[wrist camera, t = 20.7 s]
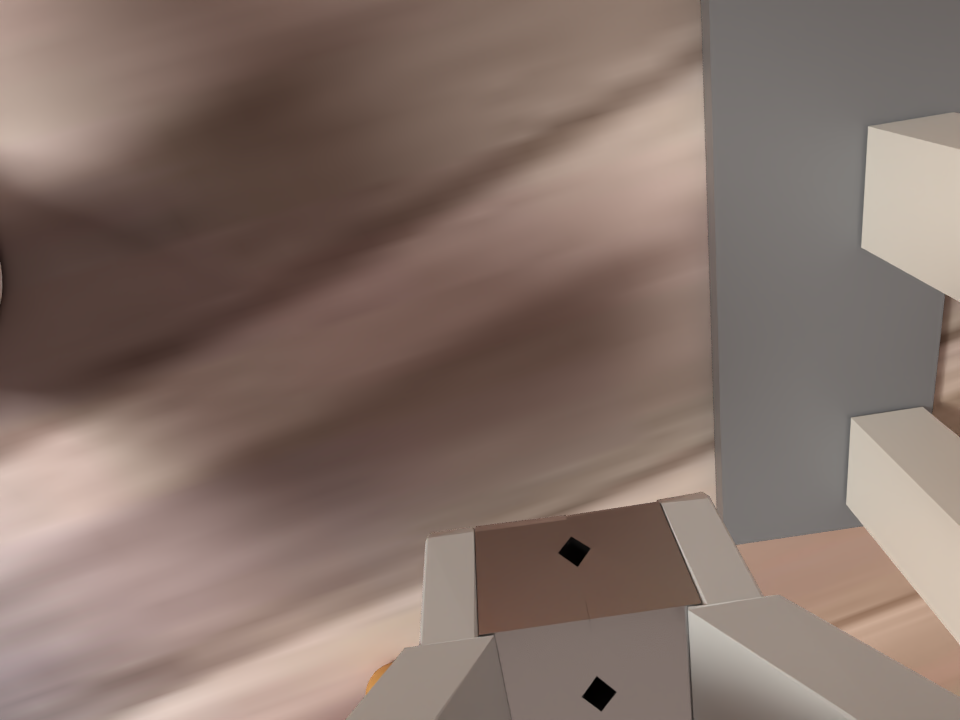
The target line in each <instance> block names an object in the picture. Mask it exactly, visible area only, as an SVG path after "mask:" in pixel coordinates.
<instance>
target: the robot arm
mask: <svg viewBox="0 0 960 720" xmlns="http://www.w3.org/2000/svg"><path fill="white" fill-rule="evenodd" d="M1 297H2V271H1V264H0V303H1ZM346 720H960V697H959V696H957V695H955V694H953V693H952V692H950V691H948V690H946V689H945V688H943V687H941V686H939V685H937V684H936V683H934V682H932V681H930V680H929V679H927V678H925V677H923V676H922V675H920V674H918V673H916V672H915V671H913V670H911V669H909V668H908V667H906V666H904V665H902V664H900V663H899V662H897V661H895V660H893V659H892V658H890V657H888V656H886V655H885V654H883V653H881V652H879V651H878V650H876V649H874V648H872V647H871V646H869V645H867V644H865V643H863V642H862V641H860V640H858V639H856V638H855V637H853V636H851V635H849V634H848V633H846V632H844V631H842V630H841V629H839V628H837V627H835V626H834V625H832V624H830V623H828V622H826V621H825V620H823V619H821V618H819V617H818V616H816V615H814V614H812V613H811V612H809V611H807V610H805V609H804V608H802V607H800V606H798V605H797V604H795V603H793V602H791V601H789V600H788V599H786V598H784V597H782V596H781V595H772V596H765V597H764V596H763V594H762V592H761V590H760V589H759V587H758V585H757V583H756V581H755V579H754V578H753V576H752V574H751V572H750V570H749V568H748V567H747V565H746V563H745V561H744V559H743V557H742V556H741V554H740V552H739V550H738V548H737V546H736V544H735V543H734V541H733V539H732V537H731V535H730V533H729V532H728V530H727V528H726V526H725V524H724V522H723V521H722V519H721V517H720V515H719V513H718V511H717V510H716V508H715V506H714V504H713V502H712V500H711V498H710V497H709V496H708V495H707V494H705V493H703V492H699V493H694V494H688V495H682V496H677V497H671V498H665V499H660V500H657V502H652V503H645V504H639V505H632V506H626V507H619V508H613V509H606V510H599V511H593V512H586V513H580V514H573V515H567V516H566V515H560V516H552V517H545V518H537V519H529V520H521V521H513V522H505V523H497V524H489V525H481V526H476V528H473V527H467V528H460V529H453V530H446V531H439V532H432V533H429V535H428V537H427V540H426V542H425V559H424V575H423V592H422V609H421V625H420V642H419V646H414V647H408V648H404V650H403V651H402V652H401V653H400V654H399V656H398V657H397V658H396V659H395V660H394V662H393V663H392V664H391V665H390V666H389V668H388V669H387V670H386V671H385V672H384V674H383V675H382V676H381V677H380V679H379V680H378V681H377V682H376V683H375V685H374V686H373V687H372V688H371V689H370V691H369V692H368V693H367V694H366V695H365V697H364V698H363V699H362V700H361V701H360V703H359V704H358V705H357V706H356V708H355V709H354V710H353V711H352V712H351V714H350V715H349V716H348V717H347V718H346Z"/></svg>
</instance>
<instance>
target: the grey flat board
mask: <svg viewBox="0 0 960 720" xmlns="http://www.w3.org/2000/svg"><path fill="white" fill-rule="evenodd" d="M701 21H702V53H703V85H704V117H705V149H706V181H707V213H708V245H709V277H710V308H711V340H712V372H713V404H714V436H715V468H716V500H717V511H718V513H719V515H720V517H721V519H722V521H723V522H724V524H725V526H726V528H727V530H728V532H729V533H730V535H731V537H732V539H733V541H734V543H735V544H736V545H738V544H745V543H752V542H759V541H765V540H772V539H779V538H786V537H793V536H800V535H806V534H813V533H820V532H827V531H834V530H841V529H847V528H854V527H861V526H863V525H862V523H861V522H860V521H859V520H858V518H857V517H856V516H855V515H854V514H853V512H852V511H851V510H850V509H849V507H848V506H847V505H846V497H847V479H848V462H849V444H850V427H851V417H858V416H864V415H871V414H878V413H884V412H891V411H897V410H904V409H911V408H917V407H924V408H925V409H926V410H927V411H928V412H930V413H931V414H932V410H933V401H934V392H935V382H936V373H937V364H938V355H939V346H940V336H941V327H942V318H943V309H944V300H945V294H944V293H942V292H941V291H939V290H937V289H935V288H933V287H932V286H930V285H928V284H926V283H924V282H923V281H921V280H919V279H917V278H915V277H914V276H912V275H910V274H908V273H906V272H905V271H903V270H901V269H899V268H897V267H896V266H894V265H892V264H890V263H888V262H887V261H885V260H883V259H881V258H879V257H878V256H876V255H874V254H872V253H870V252H869V251H867V250H865V249H863V248H861V242H862V225H863V208H864V190H865V173H866V155H867V138H868V126H873V125H879V124H885V123H891V122H897V121H903V120H909V119H915V118H921V117H927V116H933V115H939V114H945V113H951V112H955V113H960V0H701Z"/></svg>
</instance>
